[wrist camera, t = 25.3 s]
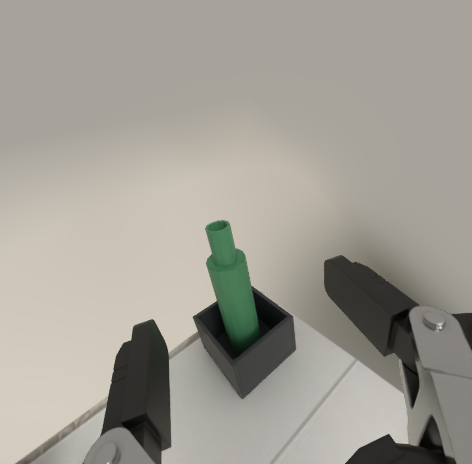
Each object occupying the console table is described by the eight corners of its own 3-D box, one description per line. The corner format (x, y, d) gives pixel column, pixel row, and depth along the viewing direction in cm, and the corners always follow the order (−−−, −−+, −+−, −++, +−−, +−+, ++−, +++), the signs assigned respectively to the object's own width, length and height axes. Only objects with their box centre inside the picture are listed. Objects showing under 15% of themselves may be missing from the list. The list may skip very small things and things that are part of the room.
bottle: (255, 328, 43) (231, 212, 32) (267, 352, 39) (244, 228, 28) (228, 338, 42) (193, 223, 31) (236, 365, 38) (200, 242, 27)
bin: (252, 311, 48) (246, 281, 44) (296, 349, 39) (293, 316, 35) (204, 347, 42) (192, 316, 39) (242, 399, 34) (232, 366, 30)
